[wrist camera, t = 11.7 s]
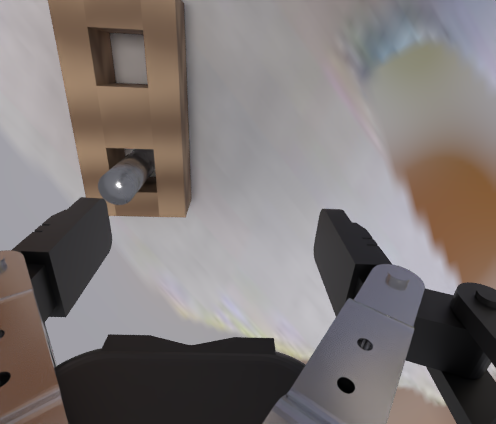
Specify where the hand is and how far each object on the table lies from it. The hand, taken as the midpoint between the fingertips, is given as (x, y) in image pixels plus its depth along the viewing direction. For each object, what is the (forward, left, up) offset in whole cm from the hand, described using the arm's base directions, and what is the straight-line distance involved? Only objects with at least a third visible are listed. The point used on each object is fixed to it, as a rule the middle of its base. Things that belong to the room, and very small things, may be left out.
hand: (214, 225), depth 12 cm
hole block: (-1, -9, -25) cm, 26 cm away
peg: (+4, -9, -25) cm, 27 cm away
